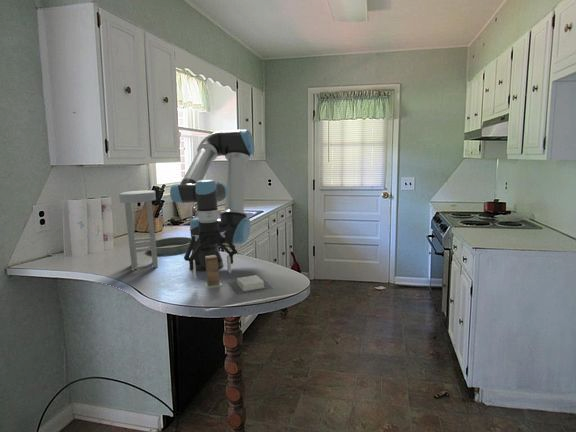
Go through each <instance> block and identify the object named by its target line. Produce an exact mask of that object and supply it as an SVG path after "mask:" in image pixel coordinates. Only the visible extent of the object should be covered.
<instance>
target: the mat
mask: <svg viewBox="0 0 576 432" xmlns="http://www.w3.org/2000/svg"><path fill="white" fill-rule="evenodd" d="M258 277H259V276H258ZM259 278H260V279H262V280H263V281H264V288H261V289H255V290H249V291H243V290H242V289H241V288H240V287H239V286H238V285H237V280H234V281H230V282H227V285H228V286H229V287H230V288H231V290H233V292H234V293H235V294H236V295H243V294H248V293H256V292H259V291H267V290H271V289H273V287H272V286H271V284H269V283H268V282H267V281H266V280H265V279H263V277H261V276H260V277H259Z"/></svg>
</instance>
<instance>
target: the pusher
mask: <svg viewBox="0 0 576 432" xmlns="http://www.w3.org/2000/svg"><path fill="white" fill-rule="evenodd" d="M205 263H206V270H205V273H206V274H205V275H206V283H207V284H208V285H209V286H214V285H220V284H219V281H220V272H219V268H218V257H217V256H216V255H210V256H205Z"/></svg>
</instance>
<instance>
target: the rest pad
mask: <svg viewBox="0 0 576 432" xmlns="http://www.w3.org/2000/svg"><path fill="white" fill-rule="evenodd" d="M203 284H204V286H205V288H206V290H207V289H214V288H220V287H223V283H222V282H221V281H220V280H219V284H220V285H214V286H209V285H208V284H207V282H204V283H203Z"/></svg>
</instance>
